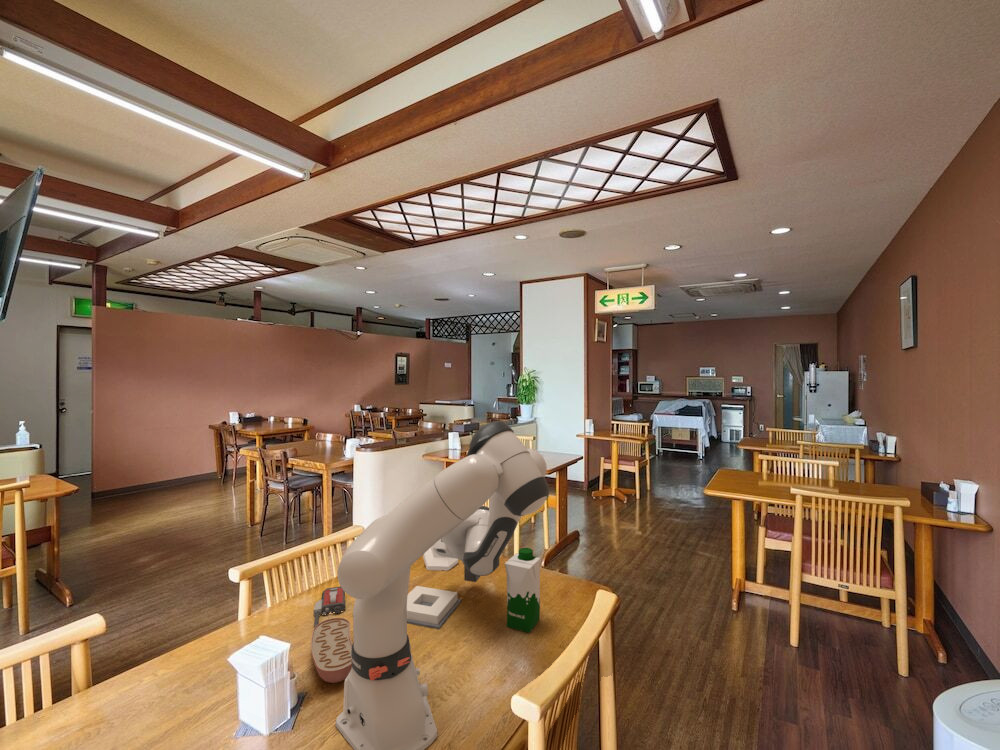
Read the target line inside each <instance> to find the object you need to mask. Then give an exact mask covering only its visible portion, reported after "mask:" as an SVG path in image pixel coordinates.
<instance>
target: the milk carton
mask: <svg viewBox="0 0 1000 750" xmlns="http://www.w3.org/2000/svg"><path fill="white" fill-rule="evenodd" d="M504 567H505V571H506V627H507V628H511V629H514V630H517V631H521V632H524V633H528V634H530V633H531V631H533V629H534V628H535V627H536V625H537V624H538V623H539V621H540V613H541V612H540V611H541V596H540V595H541V592H540V591H541V590H540V589H541V588H540V587H541V586H540V585H541V582H540V581H541V580H540V578H541V577H540V576H541V574H540V573H541V557H537V556H534V552H533V549H532V548H531V547H521V548H520V549H519V550H518V553H515V554H514V555H513V556H511V557H510V558H509V559H507V561H506V562H504Z"/></svg>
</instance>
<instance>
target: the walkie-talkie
mask: <svg viewBox="0 0 1000 750" xmlns="http://www.w3.org/2000/svg"><path fill="white" fill-rule="evenodd" d="M344 610H345V611H346V592H345V591H344V590H343V589H342V588H341V586H340V585H339V586H334V587H328V588H325V589H324V590H323V591H322V593H321V599H319V600H318V601H317V602H315V604H314V607H313V616H314V615H315V616H314V624H313V629H314V628H315V626H316V625H318V624H319V619H320V616H321V615H320V614H323V615H325V614H329V613H330V612H331V613H333V612H335V613H338V614H341V613H340V612H341V611H344ZM319 615H320V616H319ZM325 616H326V615H325Z"/></svg>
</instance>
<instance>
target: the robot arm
mask: <svg viewBox="0 0 1000 750" xmlns="http://www.w3.org/2000/svg"><path fill="white" fill-rule="evenodd" d="M468 446H469V447H468V448H469V449H467V452H466V456H465V457H463V458H461V459H460V460H457V461H456V462H454V463H452V464H451V465H449V466H448V467H446V468H444V469H443V470H441V471H440V472H438V473H437V474H435V476H433V477H432V478H431V479H430V480H428V481H426V482H425V483H424V484H423V485H421V486H420V487H419V488H417V490H415V491H414V492H413V493H411V494H410V495H408V496H407V497H406V498H405V499H403V500H402V501H401V502H400V503H399V504H397V506H396V507H395V508H393V509H392V510H391V511H390V512H388V513H387V514H386V515H383V516H380V517H377V518H376V519H374V520H373V521H372V522H371V523H370V524H369V525H368V526H367V527H366V528H365V529H364V530H363V531H362V532H361V533H360V534H359V535H358V536H357V537H356V538H355V539H354V540H353V542H351V543H350V544H349V545H348V547H347V548H346V549H345V552H344V553H343V555H342V557H341V559H340V562H339V564H338V567H337V581H338V584H339V587H340V586H341V588H342V589H343V590H344V591H345V594H347V595H348V596H350V597H352V598H353V599H355V601H354V605H353V608H352V620H353V621H352V624H353V627H352V633H353V634H352V636H353V637H352V638H353V641H352V651H351V664H352V669H351V671H350V673H349V674H348V676H347V677H346V679H344V683H343V687H344V688H343V706H342V707H343V710H342V711H341V712H340V714H339V715H338V716H337V718H336V719H335V727H336V728H337V730H338V731H339V732H340V734H341V735H342V736H343V738H344V739H345V740H346V741H347V743H349V746H351V748H352V749H353V750H426V749H427V748H428V747H429V746H430V745H432V743H433V742H434V741H435V740H436V739H437V737H438V728H437V725H436V723H435V719H434V717H433V714H432V710H431V706H430V704H429V701H428V695H429V689H428V684H427V683H426V682H424V683H420V681H419V678H418V676H420V674H421V673H420V672H421V671H420V667H415V663H414V659H413V658H414V656H413V655H412V649H411V648H412V647H411V642H410V638H409V635H408V623H407V595H408V594H409V587H410V586H409V584H410V580H411V579H410V578H411V568H412V565H413V564H415V563H416V562H417V561H418V560H419V559H420V558H421V557H423V554H424V553H425V552H426V551H427V550H428V549H430V548H431V547H432V546H433V545H434V548H433V549H434V550H435V552H436V553H437V554H438V555H439V556H442V557H449V558H456V559H458V561H459V560H460V561H461V563H462V565H464V566H465V567H466V568H467V570H468V571H469V572H470V573H472V574H473V575H477V576H480V577H485V576H489V575H491V574H492V573H493V572H495V571H496V570H497V569H498V568H499V567H500V557H501V555H502V554H503V552H504V551H505V549H506V547H507V546H508V544H509V541H511V539H512V536H513V535H514V533H515V531H516V529H517V527H518V524H519V522H520V520H521V518H522V517H524V516H527V515H530V514H534V513H535V512H537V511H538V510H540V508H541V507H542V506H543V505H544V504H545V503H546V501H547V500H548V499H549V496H550V486H549V484H548V482H547V478H546V475H547V463H546V460H545V459H544V457H543V455H541V453H540V452H538V450H537V451H536V450H535V449H532V448H527V446H525V444H524V443H523V442H522V441H521V439H519V437H518V436H517V435H516V434H515V433H514V429H512V428H511V426H509V425H508V424H507V423H506V422H504V421H502V420H501V421H498V420H497V421H496V420H493V421H491V422H489V423H486V424H484V425H483V426H481V427H480V428H479V429H478V430H477V431H475V432H474V434H473V435H472V437H471V440H470V442H469V445H468ZM487 501H488V503H489V504H488V506H485V503H486V502H487Z"/></svg>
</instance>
